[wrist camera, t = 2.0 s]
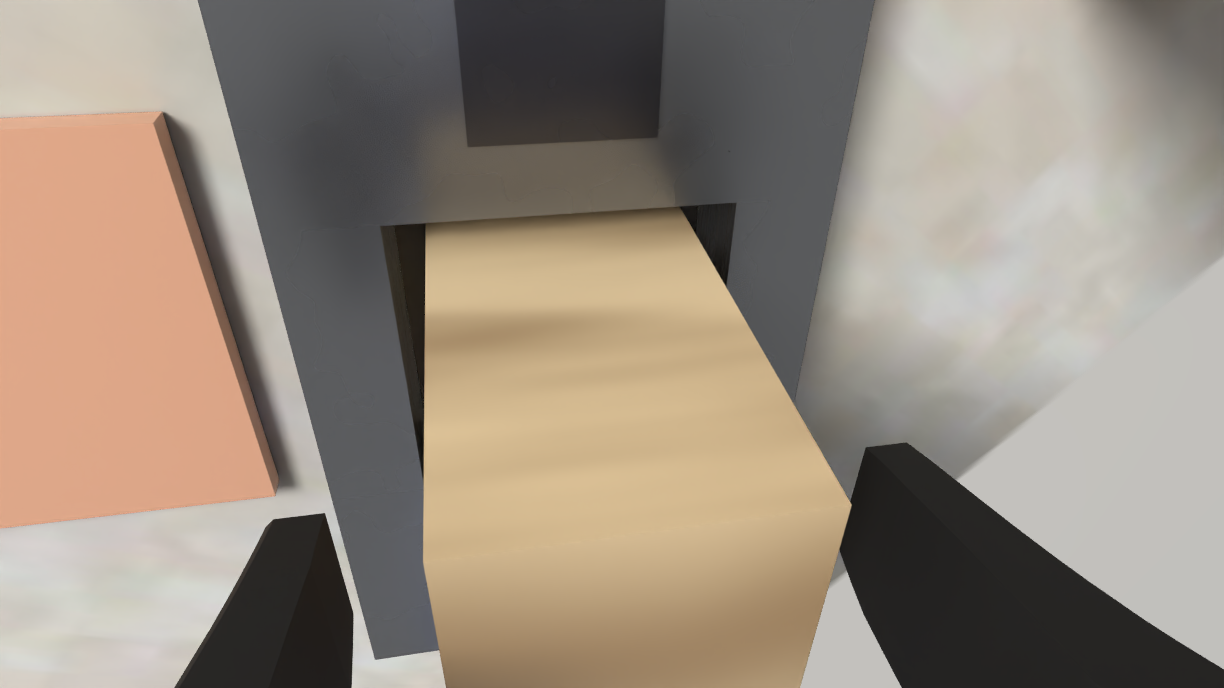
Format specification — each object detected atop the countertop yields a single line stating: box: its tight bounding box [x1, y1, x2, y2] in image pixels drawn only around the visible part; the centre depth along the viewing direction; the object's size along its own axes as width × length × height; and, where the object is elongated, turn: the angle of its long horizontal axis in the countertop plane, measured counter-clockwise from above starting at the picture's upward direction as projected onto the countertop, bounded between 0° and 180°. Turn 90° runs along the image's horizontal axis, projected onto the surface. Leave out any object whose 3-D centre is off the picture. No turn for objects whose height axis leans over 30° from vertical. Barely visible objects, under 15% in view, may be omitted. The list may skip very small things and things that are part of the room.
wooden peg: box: [423, 206, 852, 688], centre depth 12 cm, size 4×4×8 cm
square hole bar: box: [198, 0, 875, 660], centre depth 15 cm, size 16×9×2 cm, turn 179°
